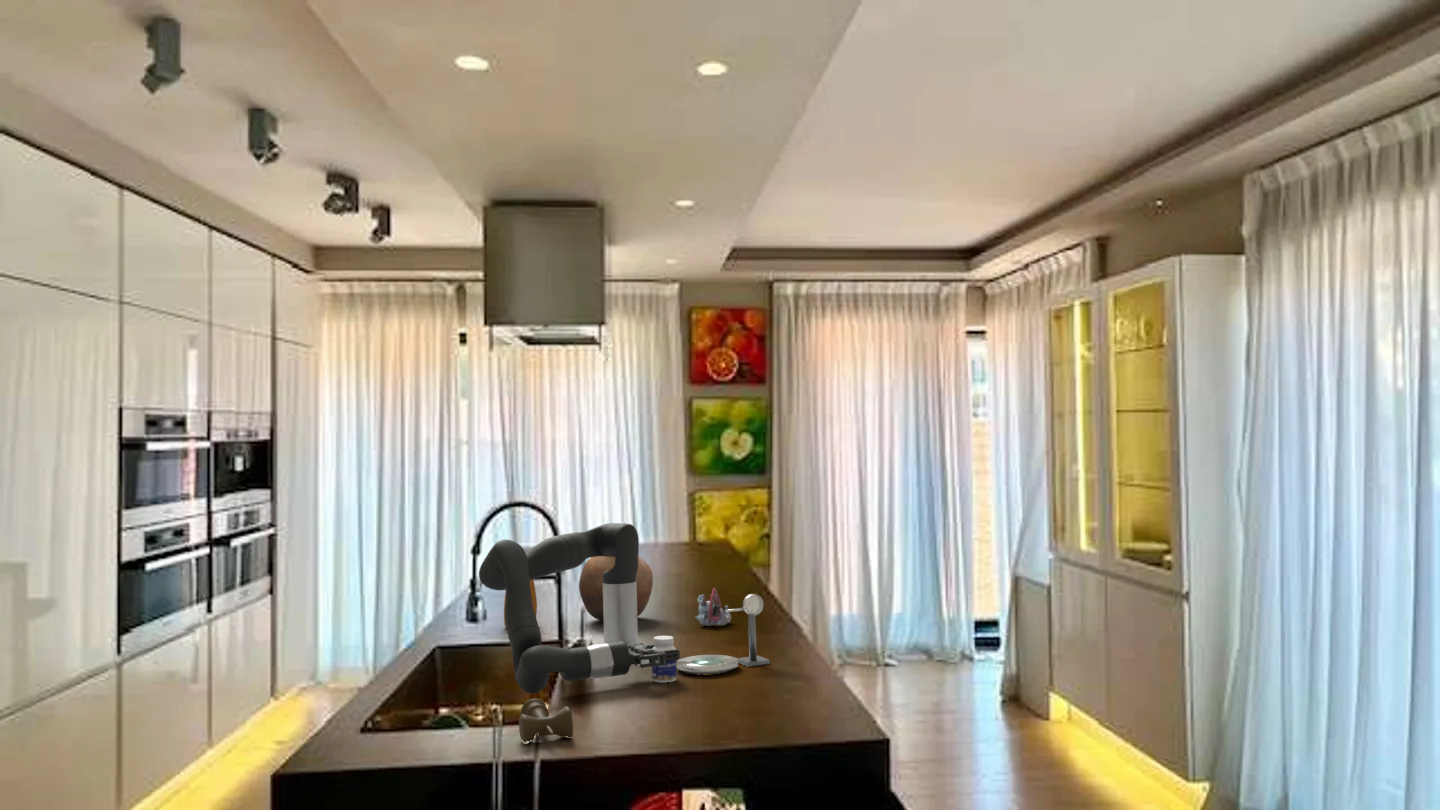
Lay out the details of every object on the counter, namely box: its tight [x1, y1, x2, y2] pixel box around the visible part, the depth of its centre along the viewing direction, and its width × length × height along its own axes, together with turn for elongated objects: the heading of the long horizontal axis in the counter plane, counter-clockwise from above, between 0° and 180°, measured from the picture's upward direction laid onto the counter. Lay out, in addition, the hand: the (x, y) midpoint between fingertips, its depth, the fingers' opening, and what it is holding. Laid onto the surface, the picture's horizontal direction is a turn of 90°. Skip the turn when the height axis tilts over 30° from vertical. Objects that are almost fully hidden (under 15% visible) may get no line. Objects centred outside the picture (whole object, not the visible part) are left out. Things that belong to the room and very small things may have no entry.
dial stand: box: [725, 593, 771, 668], centre depth 245 cm, size 6×10×17 cm, turn 117°
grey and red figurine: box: [694, 587, 732, 626], centre depth 299 cm, size 11×11×12 cm
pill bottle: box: [651, 635, 678, 684], centre depth 231 cm, size 6×6×10 cm
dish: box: [676, 654, 739, 675], centre depth 240 cm, size 15×15×2 cm
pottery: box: [578, 555, 654, 622], centre depth 310 cm, size 23×23×25 cm
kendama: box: [518, 698, 574, 742], centre depth 190 cm, size 6×10×20 cm
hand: (671, 651), depth 232 cm, fingers open, 8 cm apart
